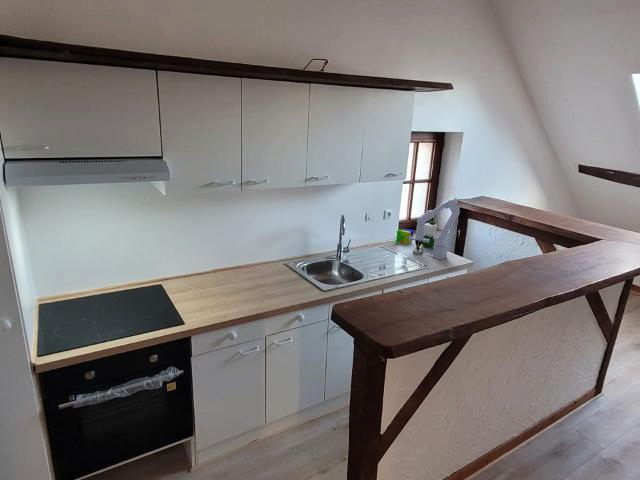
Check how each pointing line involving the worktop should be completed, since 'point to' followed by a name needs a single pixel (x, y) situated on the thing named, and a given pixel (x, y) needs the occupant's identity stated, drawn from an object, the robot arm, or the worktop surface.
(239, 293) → the worktop surface
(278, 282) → the worktop surface
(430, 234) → the milk carton
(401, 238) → the puzzle toy
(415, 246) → the key panel
